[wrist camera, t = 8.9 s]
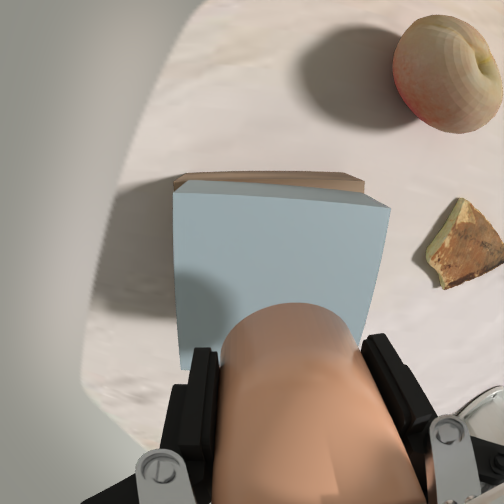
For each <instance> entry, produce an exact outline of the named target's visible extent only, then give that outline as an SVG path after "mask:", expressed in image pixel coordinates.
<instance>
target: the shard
mask: <svg viewBox="0 0 504 504" xmlns="http://www.w3.org/2000/svg"><path fill="white" fill-rule="evenodd" d="M426 260H427V262H428V263H429V264H430V266H431V267H433V268H434V269H435V270H436V271H437V272H438V274H439V280H440V285H441V287H442V289H443V290H446V289H449V288H452V287H454V286H458V285H460V284H462V283H464V282H465V281H470V280H472V279H474V278H476V277H479V276H482V275H483V274H485V273H487V272H489V271H491V270H493V269H495V268H496V267H498V266H499V265H501V264H503V263H504V243H503V242H502V240H501V239H500V237H499V235H498V233H497V232H496V231H495V230H494V228H493V227H492V225H491V224H490V222H489V221H488V220H486V218H485V216H483V215H482V214H481V212H480V211H479V210H478V209H475V208H474V206H473V205H472V204H471V203H470V202H469V201H468V200H465V199H464V198H459V199H458V201H457V203H456V205H455V207H454V209H453V210H452V212H451V214H450V215H449V217H448V219H447V221H446V223H445V224H444V226H443V228H442V229H441V230H440V231H439V233H438V234H437V235H436V237H435V238H434V240H433V241H432V243H431V244H430V245H429V246H428V247H427V250H426Z"/></svg>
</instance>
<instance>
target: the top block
mask: <svg viewBox="0 0 504 504" xmlns="http://www.w3.org/2000/svg"><path fill="white" fill-rule="evenodd" d="M390 211H391V208H389V207H388V206H386V205H384V204H382V203H380V202H378V201H377V200H375V199H373V198H371V197H369V196H367V195H366V194H364V193H361V192H353V191H344V190H335V189H325V188H314V187H303V186H291V185H279V184H264V183H248V182H229V181H205V180H188V181H187V182H185V183H184V184H183V185H182V186H181V187H179V188H178V189H177V190H176V191H174V192H173V251H174V279H175V300H176V316H177V330H178V343H179V355H180V365H181V370H190V368H191V362H192V357H193V352H194V348H195V347H211V350H212V351H217V353H218V360H219V362H220V352H221V348H222V345H223V342H224V340H225V338H226V336H227V335H228V334H229V332H230V331H231V330H232V329H233V328H234V327H235V326H236V325H237V324H238V323H239V322H240V321H241V320H243V319H244V318H245V317H247V316H249V315H250V314H252V313H254V312H256V311H258V310H260V309H263V308H266V307H269V306H273V305H277V304H283V303H309V304H314V305H318V306H321V307H324V308H326V309H328V310H330V311H332V312H334V313H335V314H336V315H338V316H339V317H340V318H341V319H342V320H343V321H344V322H345V323H346V325H347V326H348V328H349V330H350V332H351V334H352V336H353V338H354V340H355V342H356V344H357V346H358V345H359V342H360V339H361V336H362V332H363V329H364V325H365V322H366V318H367V315H368V311H369V307H370V304H371V300H372V296H373V292H374V288H375V284H376V280H377V275H378V271H379V267H380V262H381V258H382V253H383V248H384V243H385V238H386V233H387V228H388V222H389V217H390Z"/></svg>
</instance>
